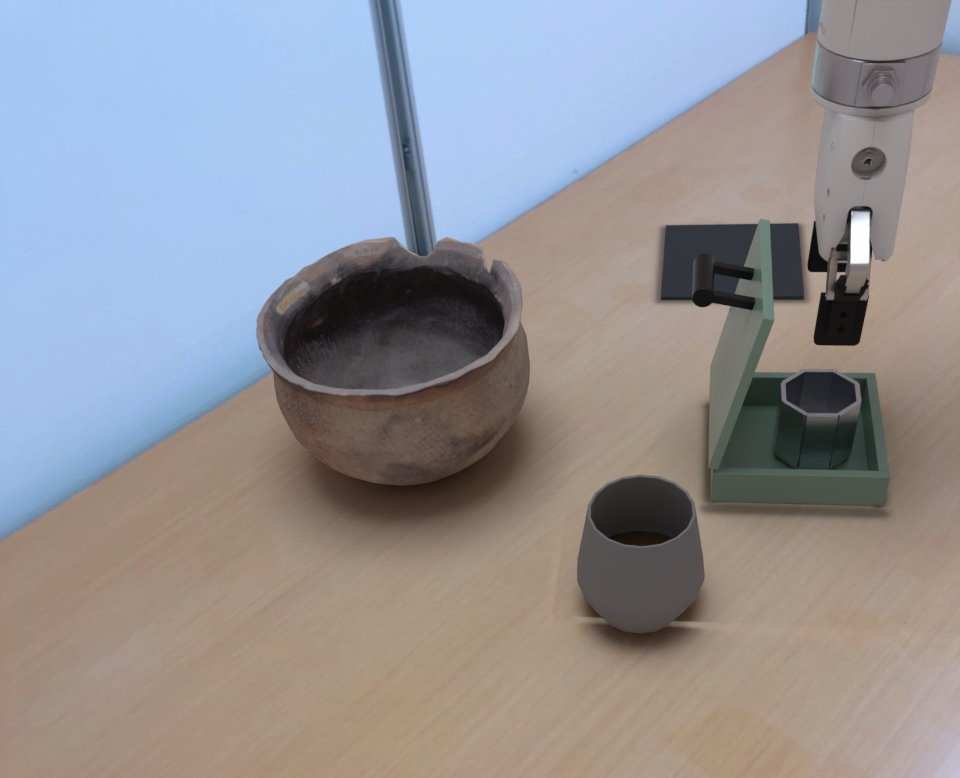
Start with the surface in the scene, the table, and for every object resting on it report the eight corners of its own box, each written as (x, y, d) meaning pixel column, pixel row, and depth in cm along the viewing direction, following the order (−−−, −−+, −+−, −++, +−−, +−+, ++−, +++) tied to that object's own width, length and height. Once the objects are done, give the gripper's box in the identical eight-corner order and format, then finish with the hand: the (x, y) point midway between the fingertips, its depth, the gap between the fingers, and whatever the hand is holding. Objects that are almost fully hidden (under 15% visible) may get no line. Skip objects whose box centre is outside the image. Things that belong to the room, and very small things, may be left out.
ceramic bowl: (574, 401, 102) (568, 253, 91) (476, 558, 90) (455, 410, 78) (366, 360, 109) (337, 218, 98) (250, 500, 97) (201, 357, 86)
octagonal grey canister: (846, 427, 95) (857, 369, 90) (851, 474, 91) (863, 416, 86) (772, 426, 96) (779, 368, 91) (774, 473, 92) (782, 415, 87)
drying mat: (797, 226, 118) (798, 223, 118) (803, 299, 109) (804, 296, 109) (665, 228, 120) (666, 225, 120) (660, 300, 111) (660, 296, 111)
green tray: (868, 408, 97) (875, 372, 94) (881, 513, 89) (890, 477, 86) (711, 406, 99) (714, 371, 97) (709, 508, 91) (712, 473, 88)
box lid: (770, 220, 85) (701, 207, 85) (774, 320, 77) (698, 305, 77) (718, 367, 96) (658, 356, 96) (717, 470, 88) (651, 457, 88)
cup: (722, 589, 85) (733, 491, 77) (665, 670, 80) (670, 575, 73) (615, 547, 89) (615, 451, 81) (555, 622, 84) (548, 528, 77)
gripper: (953, 129, 64) (894, 375, 77) (920, 12, 75) (873, 245, 88) (820, 131, 65) (784, 373, 78) (806, 16, 76) (777, 245, 89)
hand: (831, 305), depth 83 cm, fingers open, 9 cm apart
